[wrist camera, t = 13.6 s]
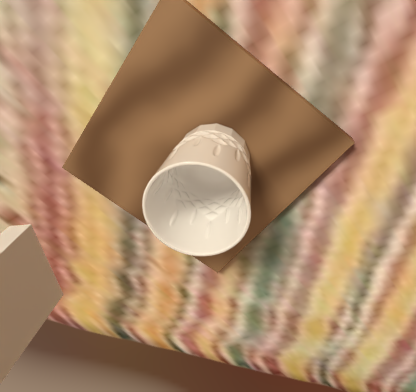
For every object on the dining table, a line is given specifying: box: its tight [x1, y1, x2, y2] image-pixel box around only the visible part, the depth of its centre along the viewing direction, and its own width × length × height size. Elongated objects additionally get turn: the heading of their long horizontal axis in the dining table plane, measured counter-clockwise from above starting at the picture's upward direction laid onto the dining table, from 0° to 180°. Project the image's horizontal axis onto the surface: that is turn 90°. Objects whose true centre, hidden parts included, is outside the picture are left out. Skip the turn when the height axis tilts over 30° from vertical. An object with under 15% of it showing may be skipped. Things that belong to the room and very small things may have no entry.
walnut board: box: [62, 0, 354, 273], centre depth 37 cm, size 20×20×1 cm
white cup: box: [142, 123, 251, 256], centre depth 32 cm, size 8×8×10 cm
